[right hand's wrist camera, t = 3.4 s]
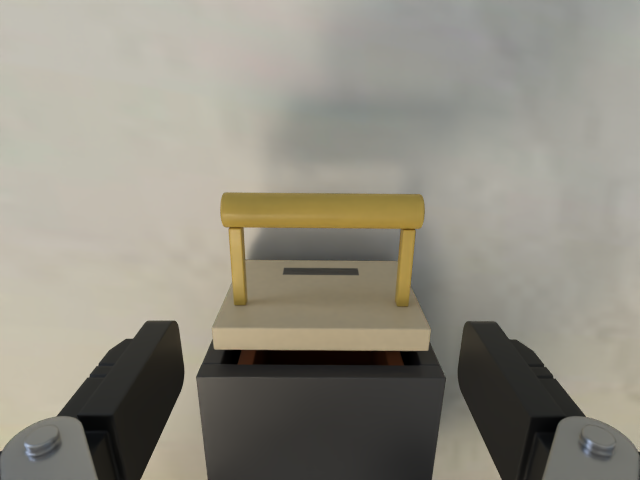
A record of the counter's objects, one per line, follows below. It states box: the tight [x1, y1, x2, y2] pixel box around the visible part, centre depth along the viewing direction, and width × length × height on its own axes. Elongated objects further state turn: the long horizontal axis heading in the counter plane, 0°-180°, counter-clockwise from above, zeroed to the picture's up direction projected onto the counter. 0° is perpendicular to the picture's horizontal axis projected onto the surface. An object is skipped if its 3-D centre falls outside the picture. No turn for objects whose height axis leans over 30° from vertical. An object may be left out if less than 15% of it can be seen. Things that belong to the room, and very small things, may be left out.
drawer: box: [212, 193, 431, 365], centre depth 24 cm, size 20×10×8 cm, turn 179°
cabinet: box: [196, 339, 446, 480], centre depth 26 cm, size 16×11×10 cm
